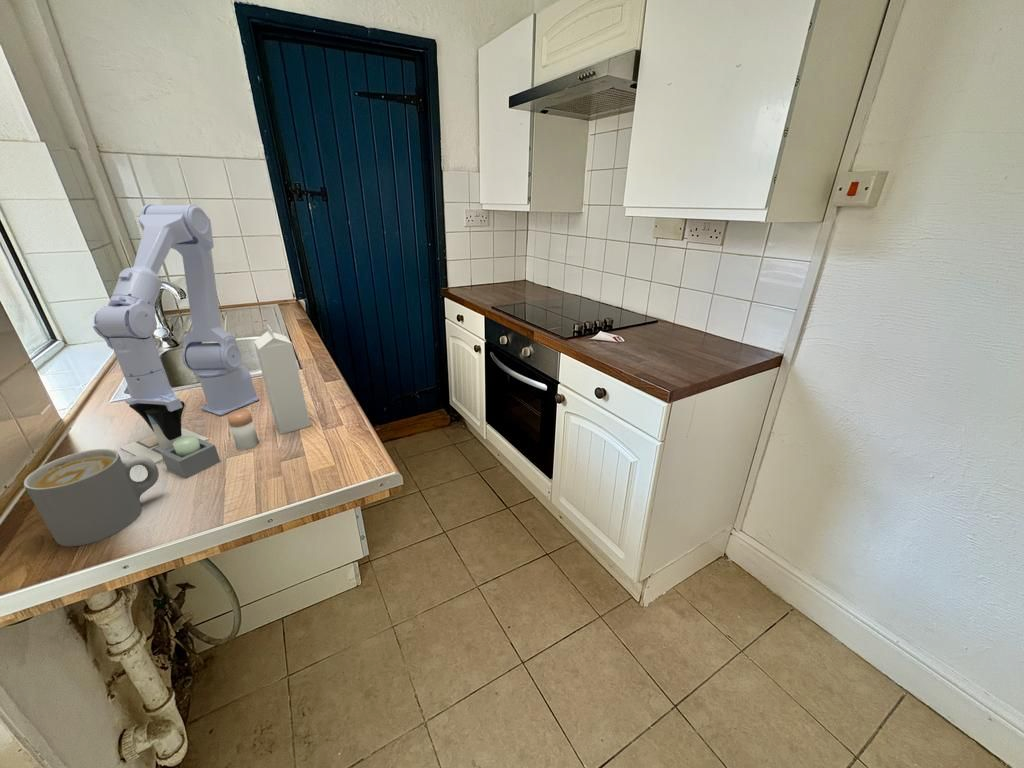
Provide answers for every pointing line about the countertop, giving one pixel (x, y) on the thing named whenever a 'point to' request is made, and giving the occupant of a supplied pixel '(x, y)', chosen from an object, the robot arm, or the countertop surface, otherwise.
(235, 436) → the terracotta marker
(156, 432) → the cylinder
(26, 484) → the coffee mug
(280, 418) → the milk
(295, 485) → the countertop surface
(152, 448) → the sheet
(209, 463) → the button housing
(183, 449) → the button
